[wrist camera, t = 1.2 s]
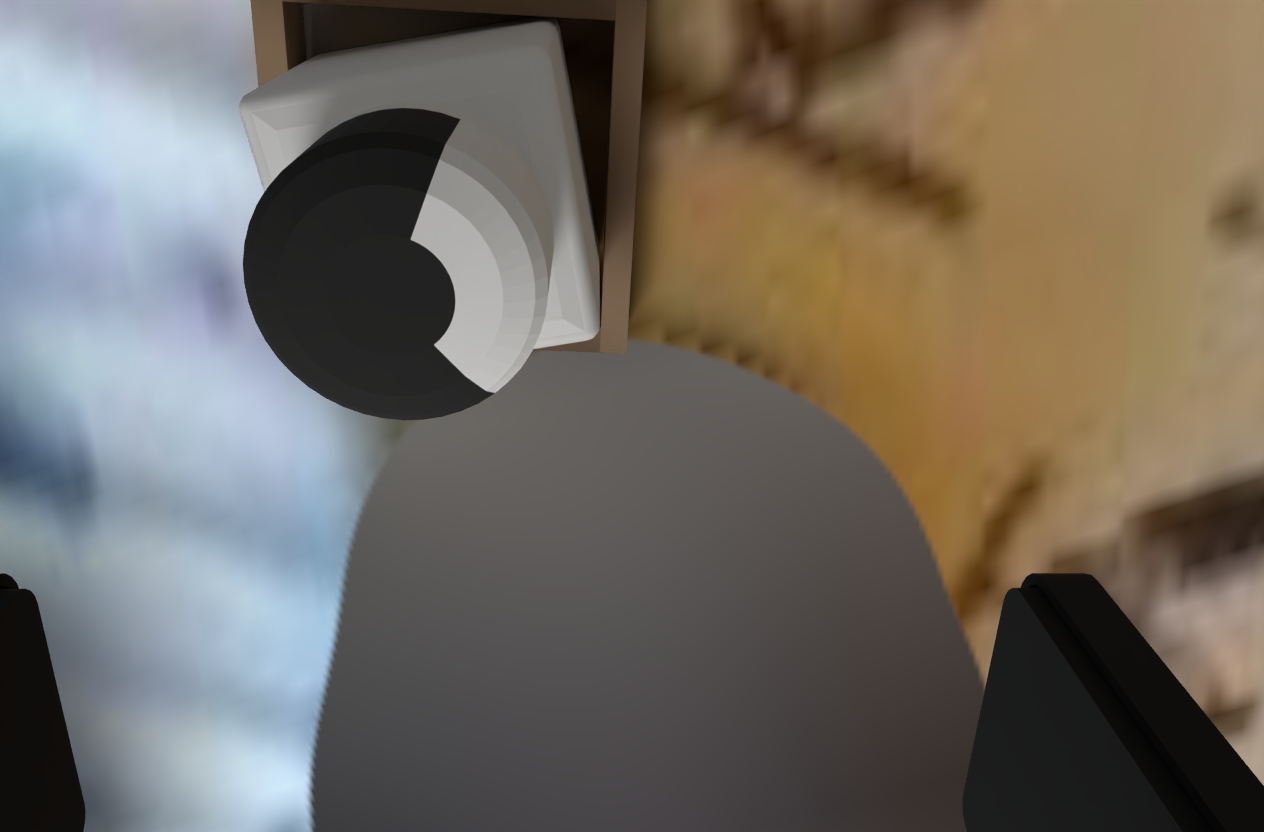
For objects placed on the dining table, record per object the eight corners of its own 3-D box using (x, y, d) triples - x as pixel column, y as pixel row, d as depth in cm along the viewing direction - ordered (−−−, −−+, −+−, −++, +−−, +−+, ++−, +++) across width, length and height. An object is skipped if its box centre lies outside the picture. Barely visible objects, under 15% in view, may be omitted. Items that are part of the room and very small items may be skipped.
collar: (269, -39, 29) (247, -35, 27) (644, -16, 29) (648, -11, 28) (299, 315, 33) (281, 339, 32) (624, 329, 34) (626, 353, 32)
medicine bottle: (374, 292, 33) (267, 483, 22) (308, 55, 30) (146, 143, 19) (601, 255, 33) (603, 431, 22) (557, 11, 30) (535, 77, 19)
